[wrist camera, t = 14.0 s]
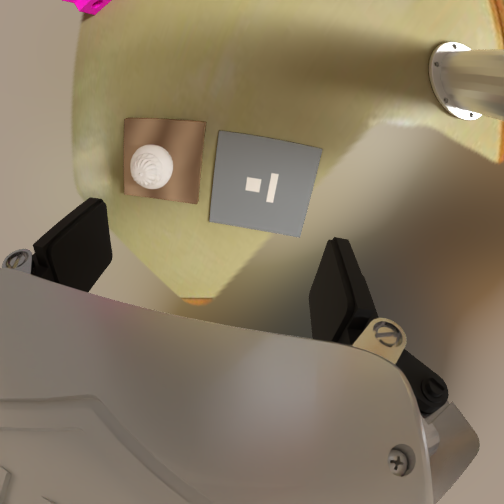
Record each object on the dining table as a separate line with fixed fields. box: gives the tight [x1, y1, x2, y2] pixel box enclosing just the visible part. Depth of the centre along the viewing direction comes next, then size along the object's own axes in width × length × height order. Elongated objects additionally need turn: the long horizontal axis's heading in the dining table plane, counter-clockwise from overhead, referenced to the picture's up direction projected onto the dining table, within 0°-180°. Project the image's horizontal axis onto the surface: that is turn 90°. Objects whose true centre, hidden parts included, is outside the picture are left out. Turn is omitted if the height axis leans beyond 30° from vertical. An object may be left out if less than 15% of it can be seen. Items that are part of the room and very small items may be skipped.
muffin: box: [130, 145, 173, 189], centre depth 33 cm, size 6×6×7 cm
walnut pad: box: [124, 118, 206, 204], centre depth 37 cm, size 12×12×1 cm
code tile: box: [209, 131, 322, 237], centre depth 38 cm, size 14×14×1 cm
